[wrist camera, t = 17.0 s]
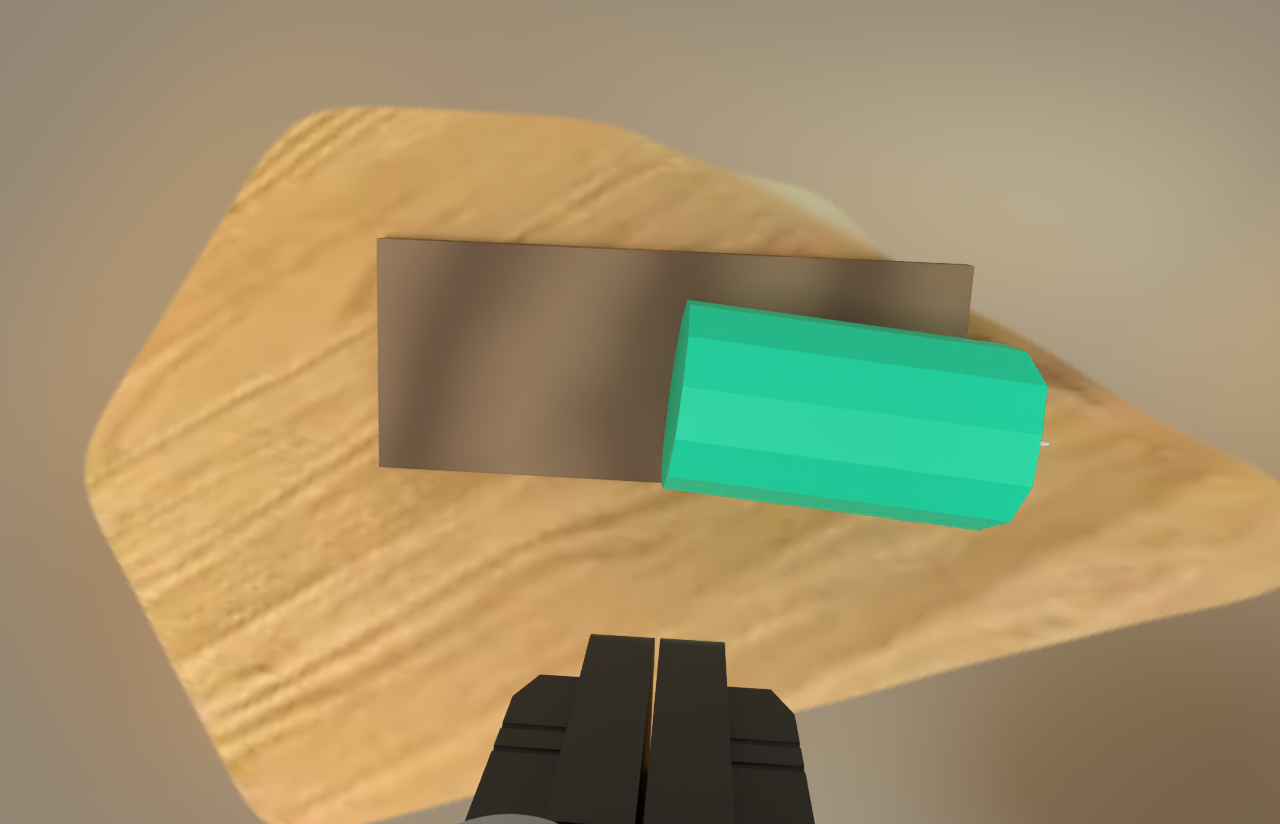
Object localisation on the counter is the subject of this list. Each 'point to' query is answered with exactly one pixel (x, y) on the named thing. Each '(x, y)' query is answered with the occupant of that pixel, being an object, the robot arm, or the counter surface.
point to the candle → (851, 417)
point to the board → (589, 343)
